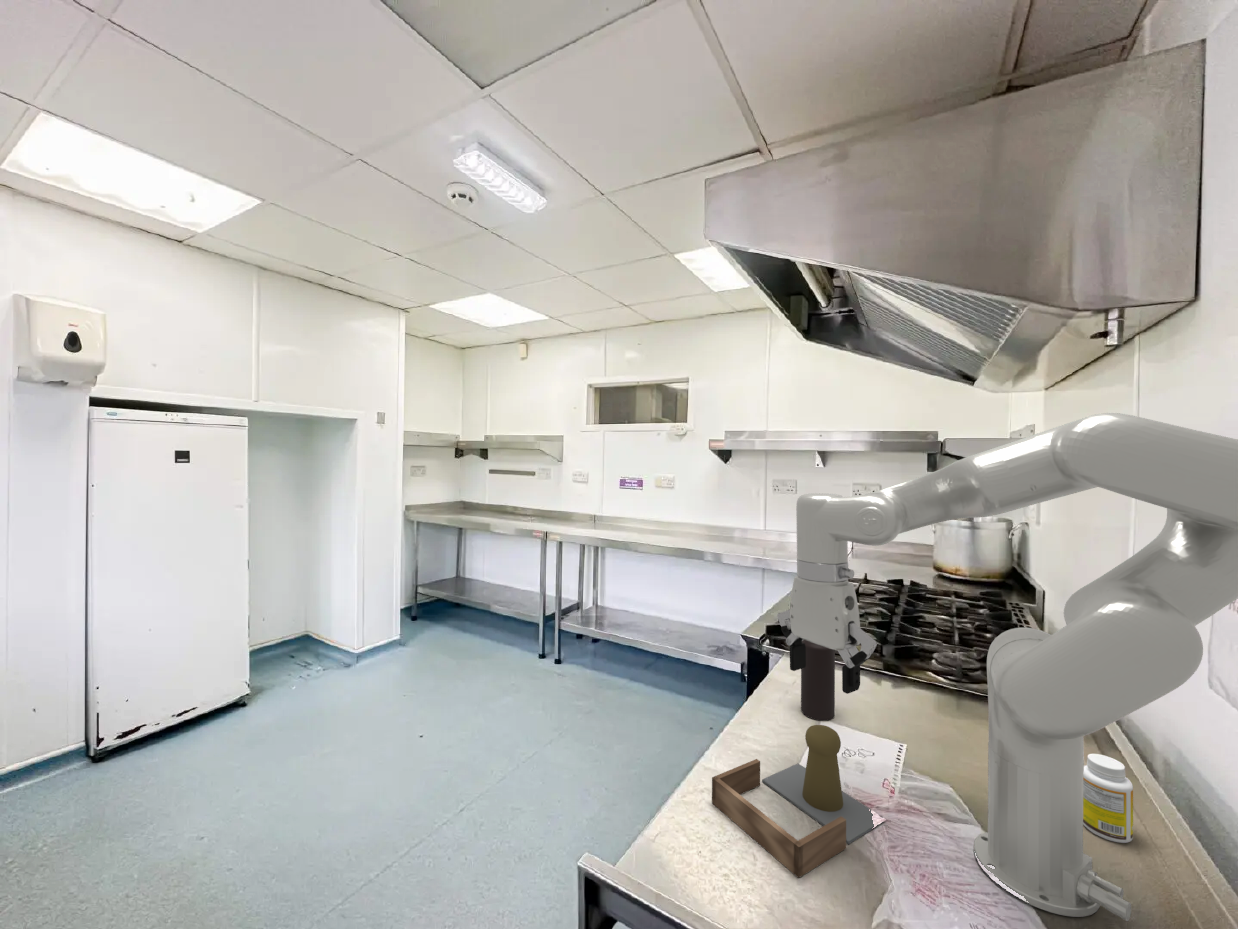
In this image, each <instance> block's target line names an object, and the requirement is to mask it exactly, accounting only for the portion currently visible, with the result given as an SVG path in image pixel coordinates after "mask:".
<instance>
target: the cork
mask: <svg viewBox="0 0 1238 929" xmlns="http://www.w3.org/2000/svg"><path fill="white" fill-rule="evenodd" d="M838 733H839V732H837V731H836V730H835V729H833V728H832V727H830V726H827V725H823V724H814V725H811V726H809V727H808V728H807V730H806V732H805V742H806V746H807V748H808V752H807V759H806V767H805V768H806V772H805V778H804V785H803V792H802V795H803V798H804V800H805V801H806V802H807V803H808V804H809V805H811V806H812V807H814V808H816V809H819V810H822V811H827V812H835V811H838V810H840V809H841V808H842V807H843V797H842V791H843V789H842V782H841V775H840V769H839V761H838V759H839V758H838V754H839V752H840V750H841V748H842V747H841V746H842V742H841V738H840V735H839V734H838Z"/></svg>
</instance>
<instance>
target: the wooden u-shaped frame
mask: <svg viewBox="0 0 1238 929" xmlns="http://www.w3.org/2000/svg"><path fill="white" fill-rule="evenodd" d="M759 786H761V761H760V760H759V759H758V758H756V759H753V760H750V761H749V762H746V763H743V764H741V765H739V766H736V767H734V768H732V769H729V770H727V771H724V772H721V773H719V774H717V775H715V776H712V777H711V803H712V805H714V806H715V807H716V808H717V809H719V810H720V811H721V812H722V813H723V814H724V815H725V816H726V817H728V818H729V819H730V820H731V821H732V822H733V823H734V824H736V825H737V826H738V827H739V828H740V829H741V830H743V831H744V832H745V833H746V834H748V836H749V837H750V838H752V839H753V840H754V841H755V842H756V843H757V844H759V845H760V846H761V847H762V848H763V849H764V850H766V851H767V852H768V853H769V854H770V855H771V856H772V857H774V858H775V859H776V860H777V861H778V862H779V863H780V864H781V865H783V866H784V867H785V868H787V870H788V871H790V873H792V874H793V875H794V876H795V877H796V878H798V879H800V878H801V877H804V875H806V874H808V873H809V872H811V871H813V870H814V869H816V868H817V867H818V866H821V865H822V864H824V863H825V862H827V861H829V860H830V859H832V858H833V857H835V856H837V855H838V854H840V853H841V852H843V851H845V850H846V849H847V843H846V819H844V818H843V817H839V818H837V819H835V820H834V821H832V822H830V823H828V824H826V825H825V826H821V827H819V828H817V829H816V830H814V831H812V832H810V833H809V834H807V835H805V836H804V837H802V838H800V839H796V838H795V837H794V836H792V835H791V834H790V833H789V832H787V830H785V829H783V828H782V827H781V826H780V825H779V824H777V823H776V822H775V821H774V820H772V819H771V818H770V817H769V816H768V815H766V814H765V813H763V812H762V811H761V810H760V809H758V808H757V807H756V806H755V805H754V804H753V803H751V802H749V800H747V799H746V798H745V797H744V796H742V794H744V793H746V792H749V791H751V790H754V789H755V788H758V787H759Z"/></svg>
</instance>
